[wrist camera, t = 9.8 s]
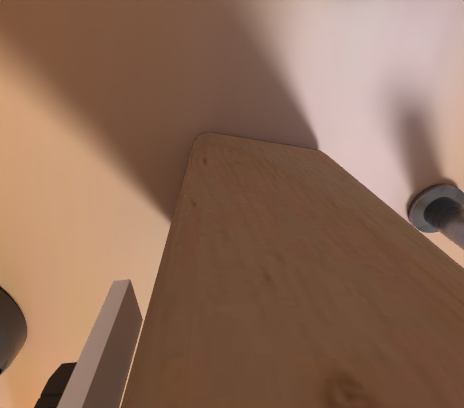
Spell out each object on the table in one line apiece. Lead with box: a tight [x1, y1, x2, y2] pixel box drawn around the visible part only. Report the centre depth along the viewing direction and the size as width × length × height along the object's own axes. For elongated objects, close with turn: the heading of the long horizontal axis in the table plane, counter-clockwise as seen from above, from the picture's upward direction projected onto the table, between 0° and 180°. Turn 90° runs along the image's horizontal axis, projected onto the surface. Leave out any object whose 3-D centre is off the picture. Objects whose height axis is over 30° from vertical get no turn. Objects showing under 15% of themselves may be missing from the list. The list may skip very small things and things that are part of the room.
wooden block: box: [121, 132, 464, 408], centre depth 13 cm, size 10×10×20 cm
